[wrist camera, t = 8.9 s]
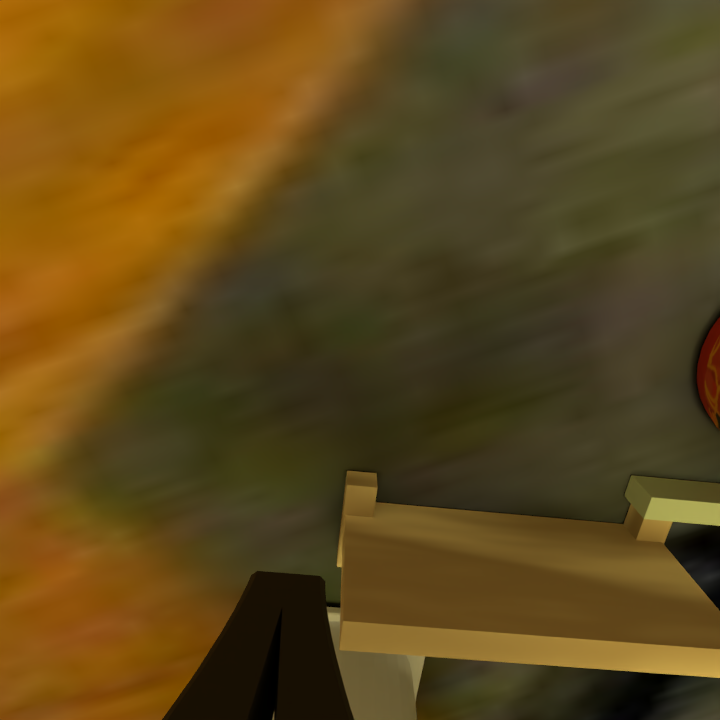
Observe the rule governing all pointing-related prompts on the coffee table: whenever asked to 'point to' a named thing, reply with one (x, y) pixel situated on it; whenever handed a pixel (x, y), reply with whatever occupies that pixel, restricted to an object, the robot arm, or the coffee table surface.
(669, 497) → the bay
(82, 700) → the coffee table surface
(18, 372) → the coffee table surface
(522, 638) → the light wooden block
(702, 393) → the canned food
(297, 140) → the coffee table surface
